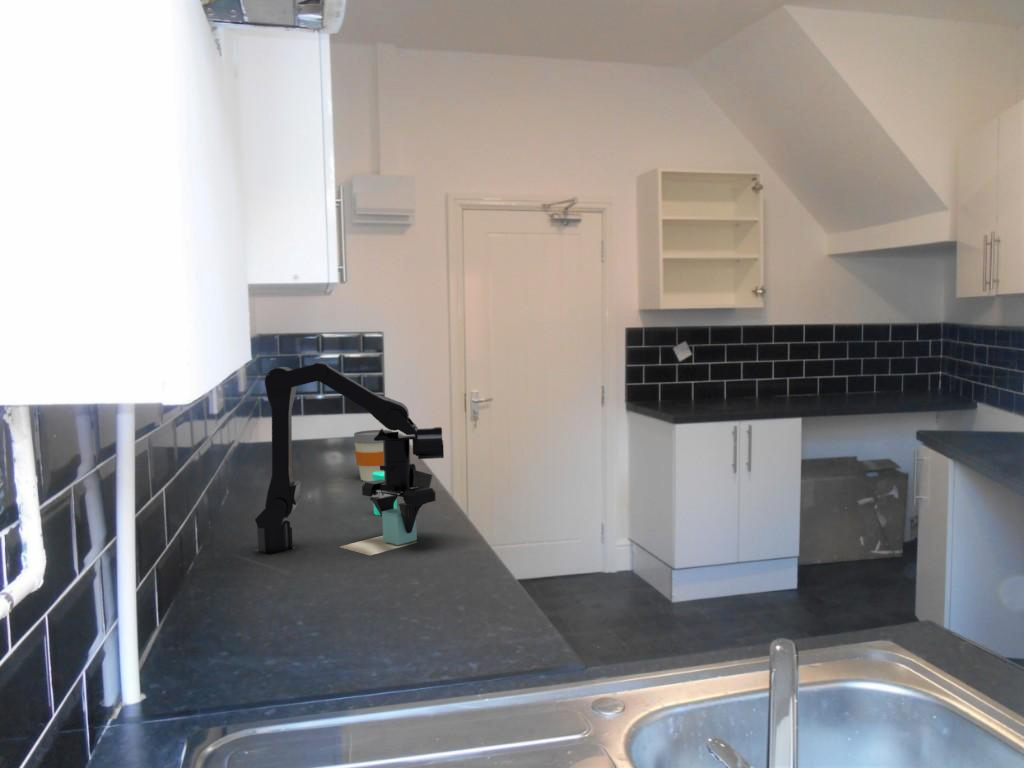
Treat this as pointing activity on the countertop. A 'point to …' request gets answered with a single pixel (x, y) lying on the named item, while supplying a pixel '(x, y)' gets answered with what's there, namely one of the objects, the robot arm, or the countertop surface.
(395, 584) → the countertop surface
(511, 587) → the countertop surface
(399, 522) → the teal rectangular block
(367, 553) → the board
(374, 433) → the reusable coffee cup
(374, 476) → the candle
